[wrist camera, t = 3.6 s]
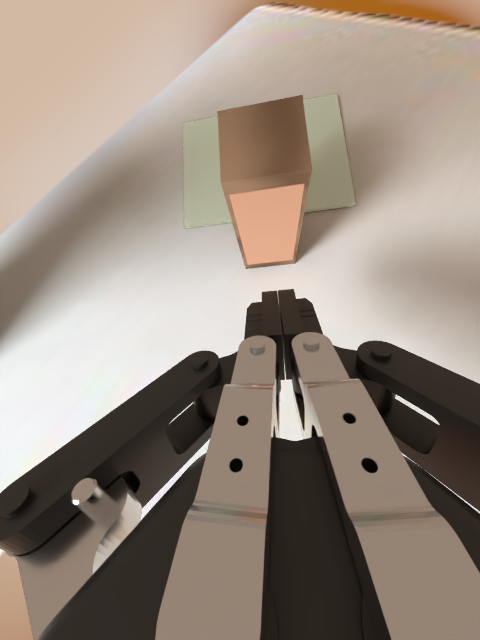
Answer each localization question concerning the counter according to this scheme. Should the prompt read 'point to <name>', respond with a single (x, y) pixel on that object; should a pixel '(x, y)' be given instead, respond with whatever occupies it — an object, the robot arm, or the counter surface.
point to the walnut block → (266, 177)
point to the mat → (326, 157)
